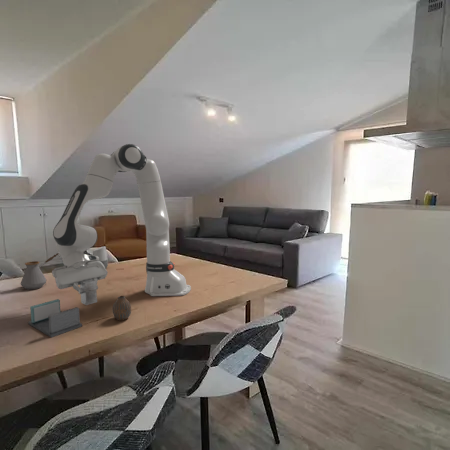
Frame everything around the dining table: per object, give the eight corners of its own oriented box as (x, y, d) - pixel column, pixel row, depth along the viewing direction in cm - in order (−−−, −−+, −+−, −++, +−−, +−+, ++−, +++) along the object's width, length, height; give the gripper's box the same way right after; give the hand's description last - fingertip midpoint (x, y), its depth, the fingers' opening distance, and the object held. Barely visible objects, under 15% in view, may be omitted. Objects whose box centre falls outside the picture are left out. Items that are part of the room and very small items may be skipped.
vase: (133, 314, 129) (132, 293, 128) (129, 321, 122) (128, 299, 121) (116, 315, 129) (115, 293, 128) (110, 322, 122) (109, 299, 121)
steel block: (91, 299, 135) (90, 278, 134) (97, 302, 132) (95, 280, 131) (81, 302, 132) (79, 281, 131) (86, 305, 129) (84, 283, 128)
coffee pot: (30, 292, 158) (28, 262, 156) (15, 289, 162) (13, 259, 161) (68, 280, 177) (66, 253, 175) (54, 278, 182) (52, 252, 180)
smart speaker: (94, 267, 206) (93, 245, 204) (109, 266, 208) (108, 245, 206) (90, 271, 197) (89, 248, 195) (106, 270, 199) (105, 247, 197)
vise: (28, 324, 120) (27, 306, 119) (58, 314, 129) (57, 297, 128) (51, 337, 109) (49, 317, 109) (82, 326, 118) (81, 308, 117)
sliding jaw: (31, 321, 120) (30, 306, 119) (58, 313, 128) (57, 299, 127) (33, 323, 118) (32, 307, 118) (61, 314, 126) (60, 300, 126)
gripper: (52, 264, 127) (64, 293, 122) (101, 255, 142) (114, 280, 137) (48, 273, 130) (60, 302, 125) (97, 263, 145) (109, 289, 140)
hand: (89, 291), depth 131 cm, fingers closed on steel block, 4 cm apart
